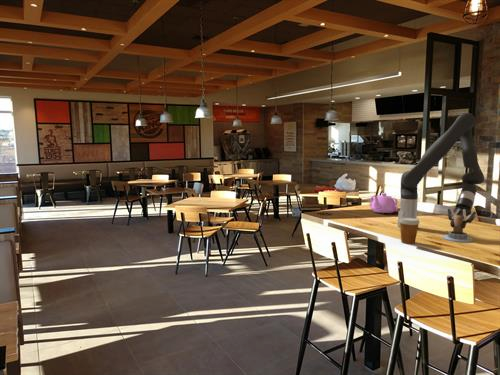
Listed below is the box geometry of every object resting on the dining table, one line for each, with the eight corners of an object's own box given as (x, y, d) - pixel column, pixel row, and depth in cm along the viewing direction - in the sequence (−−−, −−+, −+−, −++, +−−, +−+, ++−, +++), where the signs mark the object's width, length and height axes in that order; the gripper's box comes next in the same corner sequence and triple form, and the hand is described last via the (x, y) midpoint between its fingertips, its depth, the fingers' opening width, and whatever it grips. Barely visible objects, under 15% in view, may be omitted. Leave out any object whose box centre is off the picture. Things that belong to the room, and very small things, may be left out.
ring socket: (451, 242, 194) (451, 236, 194) (437, 235, 208) (437, 230, 208) (478, 242, 194) (479, 236, 194) (462, 235, 208) (463, 230, 208)
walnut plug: (455, 235, 199) (457, 216, 198) (451, 233, 203) (452, 215, 202) (464, 235, 199) (465, 216, 198) (459, 233, 203) (460, 215, 202)
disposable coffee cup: (418, 245, 187) (420, 221, 186) (397, 243, 191) (399, 219, 189) (418, 241, 196) (419, 217, 195) (398, 239, 199) (399, 216, 198)
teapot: (359, 212, 279) (360, 193, 278) (375, 208, 294) (376, 190, 292) (388, 216, 263) (389, 196, 261) (403, 212, 277) (404, 193, 276)
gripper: (449, 195, 209) (441, 220, 202) (479, 198, 199) (471, 224, 192) (452, 204, 213) (443, 229, 206) (481, 207, 204) (473, 233, 196)
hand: (457, 227), depth 199 cm, fingers closed on walnut plug, 4 cm apart
